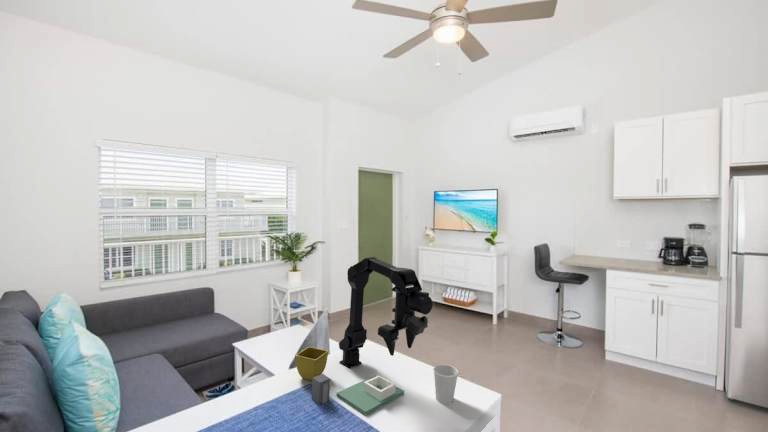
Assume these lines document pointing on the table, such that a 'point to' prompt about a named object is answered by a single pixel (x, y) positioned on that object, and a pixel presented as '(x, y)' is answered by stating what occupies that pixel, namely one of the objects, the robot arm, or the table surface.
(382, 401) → the board
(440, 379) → the dixie cup
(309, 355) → the flower pot
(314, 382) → the plug
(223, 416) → the table surface
